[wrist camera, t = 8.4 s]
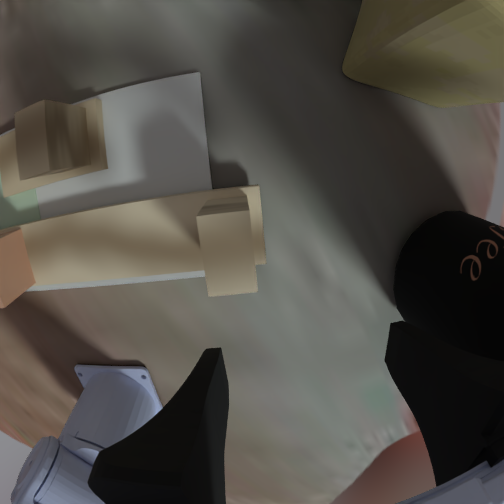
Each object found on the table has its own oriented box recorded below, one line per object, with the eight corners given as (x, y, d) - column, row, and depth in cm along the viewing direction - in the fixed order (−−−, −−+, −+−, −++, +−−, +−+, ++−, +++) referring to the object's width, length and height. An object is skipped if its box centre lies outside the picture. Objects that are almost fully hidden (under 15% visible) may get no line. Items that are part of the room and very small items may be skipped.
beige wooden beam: (265, 258, 20) (275, 299, 15) (3, 284, 20) (-36, 313, 15) (258, 184, 19) (266, 197, 13) (-12, 232, 19) (-56, 253, 13)
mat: (223, 272, 21) (223, 275, 21) (-41, 293, 21) (-43, 295, 21) (200, 73, 17) (199, 71, 17) (-66, 176, 17) (-69, 177, 16)
